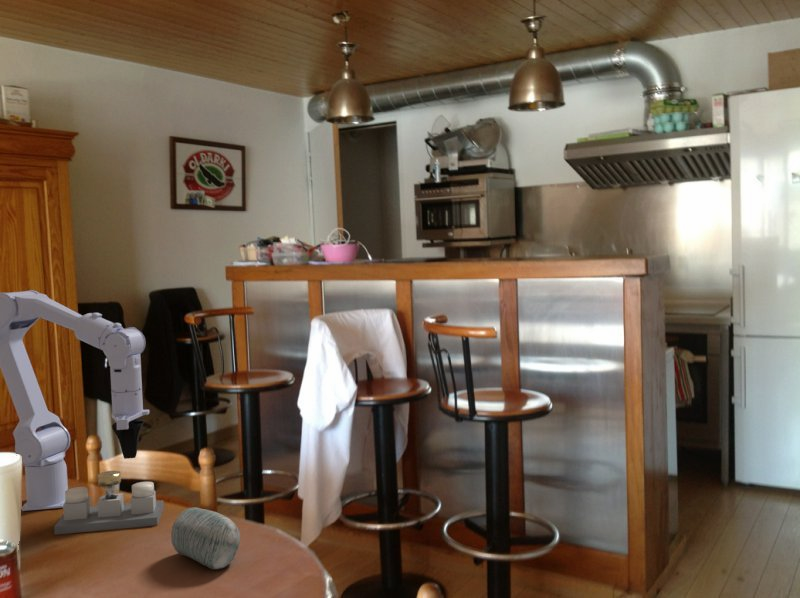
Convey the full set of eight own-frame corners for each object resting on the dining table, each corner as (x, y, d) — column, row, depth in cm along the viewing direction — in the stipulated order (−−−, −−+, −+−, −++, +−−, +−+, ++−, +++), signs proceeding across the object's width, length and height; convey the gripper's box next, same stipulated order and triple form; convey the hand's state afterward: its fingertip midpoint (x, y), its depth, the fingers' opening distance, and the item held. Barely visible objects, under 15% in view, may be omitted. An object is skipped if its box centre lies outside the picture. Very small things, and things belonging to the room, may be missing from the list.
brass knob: (101, 496, 146) (100, 471, 146) (123, 494, 147) (121, 470, 146) (97, 502, 142) (95, 477, 142) (119, 500, 143) (118, 475, 142)
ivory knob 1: (68, 512, 145) (67, 488, 145) (91, 510, 146) (89, 486, 145) (63, 519, 141) (62, 494, 141) (86, 517, 142) (85, 492, 141)
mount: (67, 516, 148) (66, 493, 147) (163, 507, 151) (162, 485, 151) (54, 534, 138) (53, 510, 138) (157, 525, 141) (156, 501, 141)
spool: (150, 538, 126) (179, 485, 127) (196, 548, 132) (224, 497, 133) (182, 584, 116) (215, 525, 117) (231, 592, 122) (261, 536, 123)
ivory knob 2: (134, 506, 147) (133, 482, 147) (156, 505, 148) (154, 480, 148) (131, 513, 143) (130, 488, 143) (153, 511, 144) (152, 487, 144)
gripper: (142, 395, 143) (146, 465, 144) (152, 382, 157) (155, 446, 158) (103, 397, 142) (107, 468, 143) (116, 384, 156) (120, 449, 157)
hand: (130, 457), depth 150 cm, fingers closed
